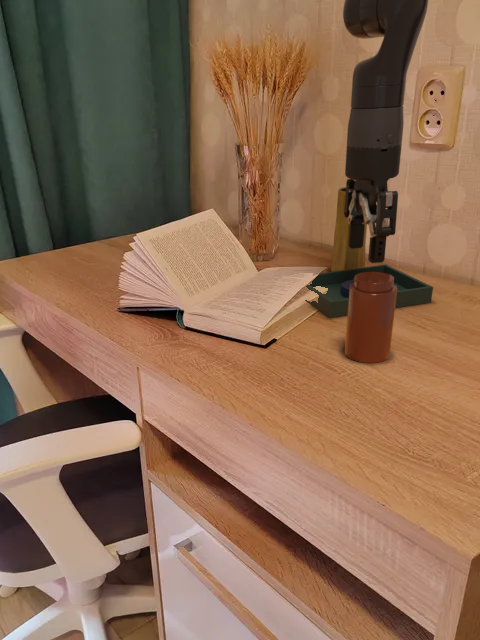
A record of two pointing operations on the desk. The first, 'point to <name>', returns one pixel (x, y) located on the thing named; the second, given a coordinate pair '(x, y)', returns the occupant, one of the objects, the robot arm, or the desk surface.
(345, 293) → the lid
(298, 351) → the desk surface
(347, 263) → the vase
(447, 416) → the desk surface
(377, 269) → the tray
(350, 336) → the jar
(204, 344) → the desk surface
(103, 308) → the desk surface
